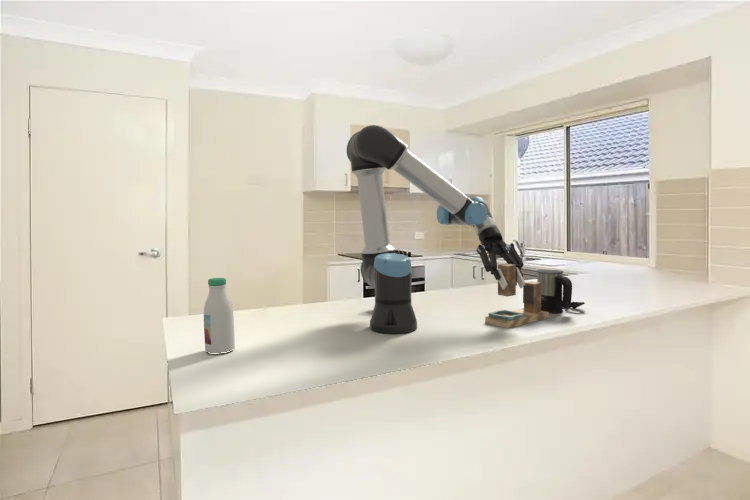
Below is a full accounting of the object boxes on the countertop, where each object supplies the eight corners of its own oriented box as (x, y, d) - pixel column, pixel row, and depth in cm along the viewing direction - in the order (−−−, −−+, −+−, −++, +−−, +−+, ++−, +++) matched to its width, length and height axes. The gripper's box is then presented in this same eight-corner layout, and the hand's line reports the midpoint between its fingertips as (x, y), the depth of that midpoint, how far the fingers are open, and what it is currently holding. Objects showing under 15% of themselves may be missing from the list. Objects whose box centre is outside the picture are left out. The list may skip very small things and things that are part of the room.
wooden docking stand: (507, 328, 144) (507, 290, 143) (485, 322, 151) (485, 286, 150) (548, 317, 156) (549, 283, 155) (526, 313, 164) (527, 280, 163)
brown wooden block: (507, 296, 147) (507, 265, 146) (497, 294, 150) (497, 264, 149) (517, 294, 150) (517, 264, 149) (507, 292, 153) (507, 263, 152)
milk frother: (531, 310, 168) (531, 270, 167) (551, 304, 178) (552, 266, 177) (569, 317, 157) (570, 274, 156) (588, 310, 168) (589, 270, 166)
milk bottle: (238, 346, 129) (235, 276, 127) (230, 355, 121) (227, 280, 119) (210, 347, 128) (207, 276, 127) (201, 355, 121) (197, 281, 119)
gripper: (507, 239, 165) (534, 291, 151) (460, 241, 161) (483, 295, 146) (516, 224, 160) (544, 277, 146) (467, 226, 155) (491, 281, 141)
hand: (514, 286), depth 146 cm, fingers closed on brown wooden block, 6 cm apart
